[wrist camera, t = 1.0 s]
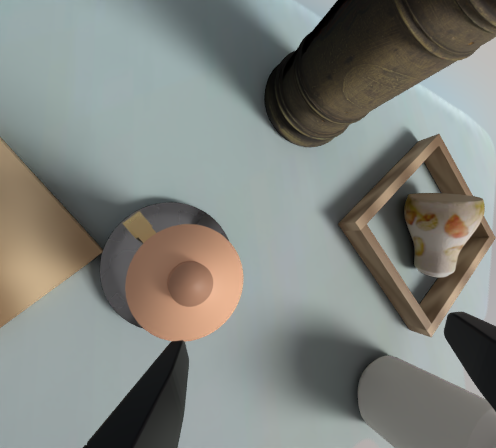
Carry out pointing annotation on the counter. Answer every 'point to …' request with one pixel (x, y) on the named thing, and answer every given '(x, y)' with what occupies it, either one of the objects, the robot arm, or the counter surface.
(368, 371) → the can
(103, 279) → the metal flange
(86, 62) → the counter surface
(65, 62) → the counter surface
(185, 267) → the cap
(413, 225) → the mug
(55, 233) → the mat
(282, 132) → the container
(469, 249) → the coaster frame
